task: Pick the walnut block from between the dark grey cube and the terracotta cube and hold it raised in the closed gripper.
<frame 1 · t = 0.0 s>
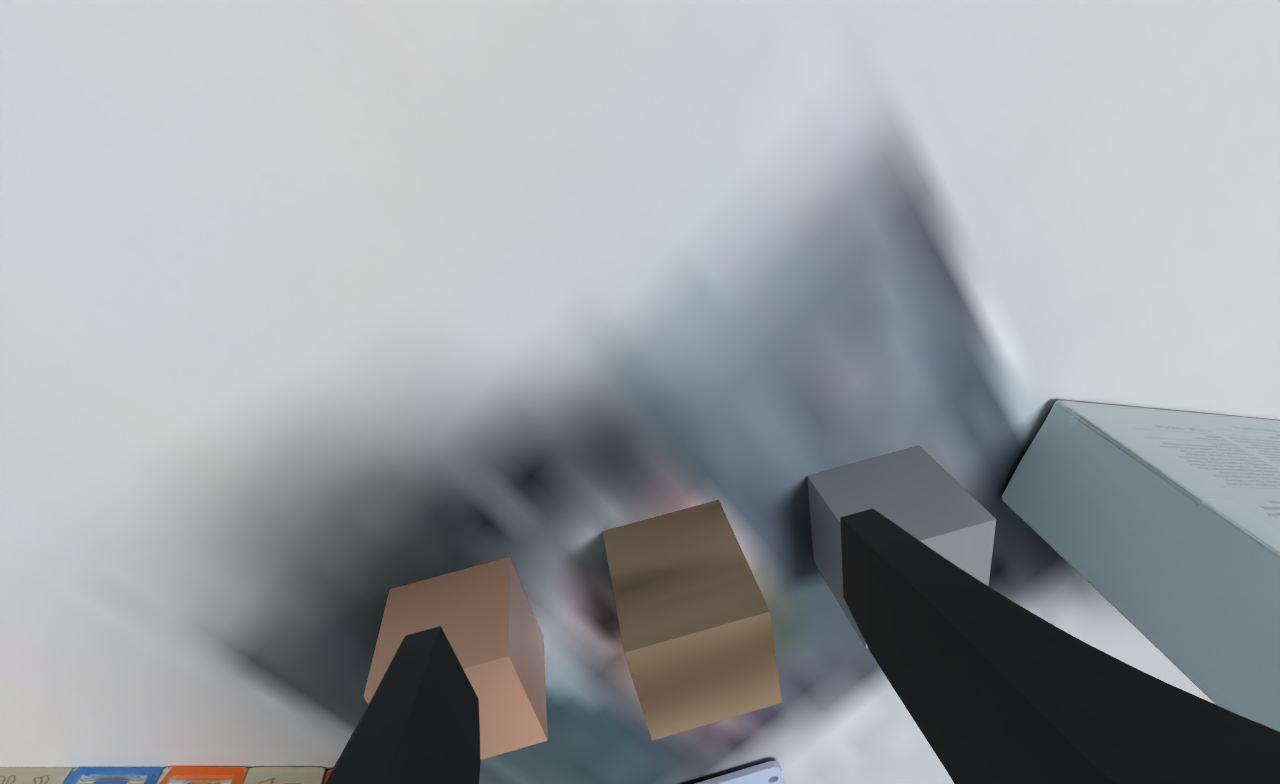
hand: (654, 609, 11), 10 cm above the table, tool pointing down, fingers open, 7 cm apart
terracotta cube: (470, 612, 24), on the table
grey cube: (863, 504, 25), on the table
walnut block: (670, 558, 24), on the table
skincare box: (1209, 465, 28), on the table
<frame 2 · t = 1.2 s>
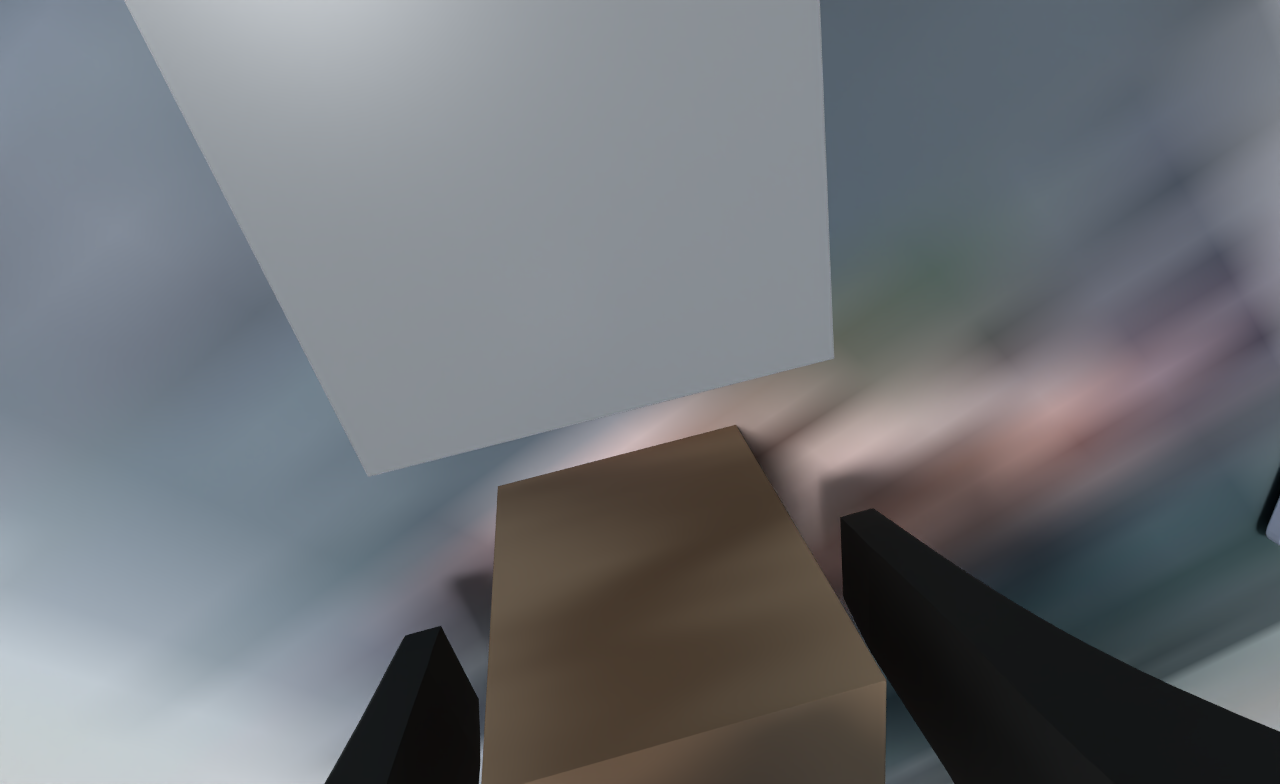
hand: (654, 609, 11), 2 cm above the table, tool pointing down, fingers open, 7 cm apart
grey cube: (533, 121, 9), on the table
walnut block: (640, 543, 13), on the table
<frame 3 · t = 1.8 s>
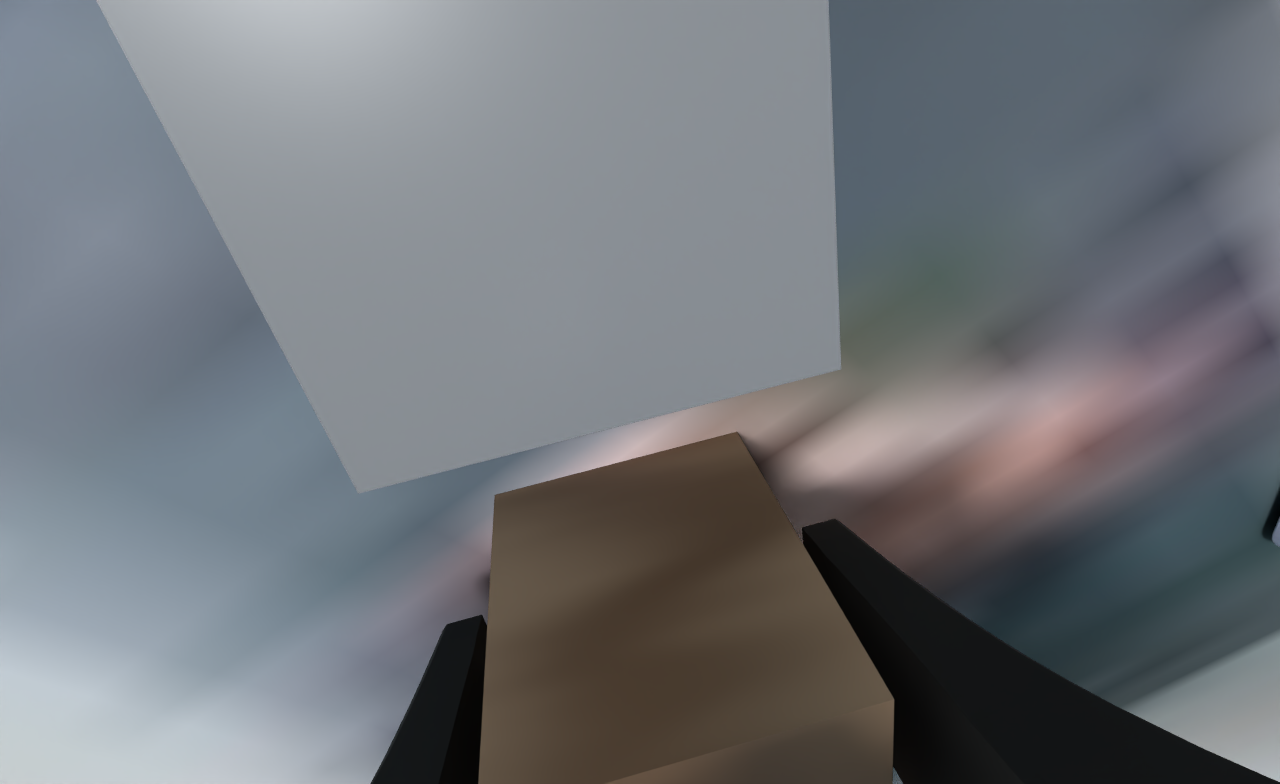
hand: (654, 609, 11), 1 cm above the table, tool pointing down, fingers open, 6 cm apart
grey cube: (529, 123, 8), on the table
walnut block: (640, 551, 12), on the table
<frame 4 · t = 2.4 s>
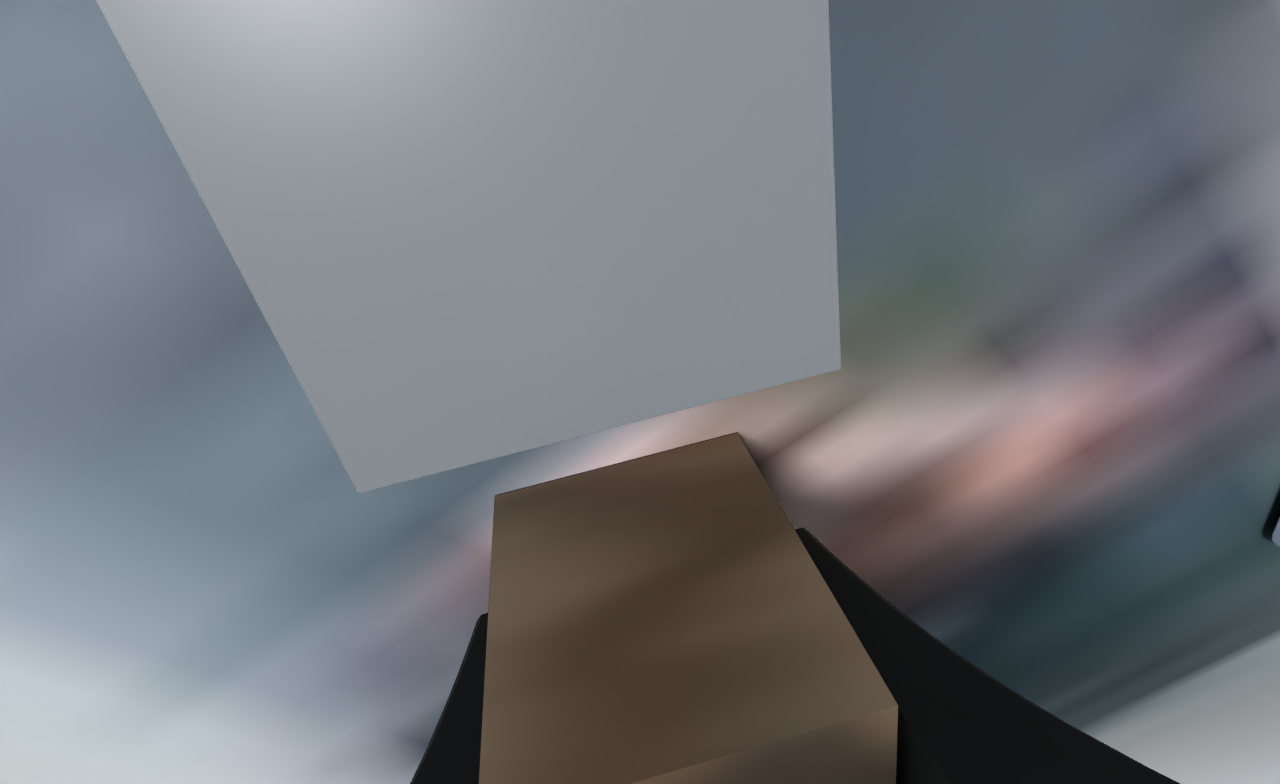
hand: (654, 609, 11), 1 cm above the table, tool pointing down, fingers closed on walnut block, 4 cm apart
grey cube: (529, 123, 8), on the table
walnut block: (640, 554, 12), on the table, touching gripper
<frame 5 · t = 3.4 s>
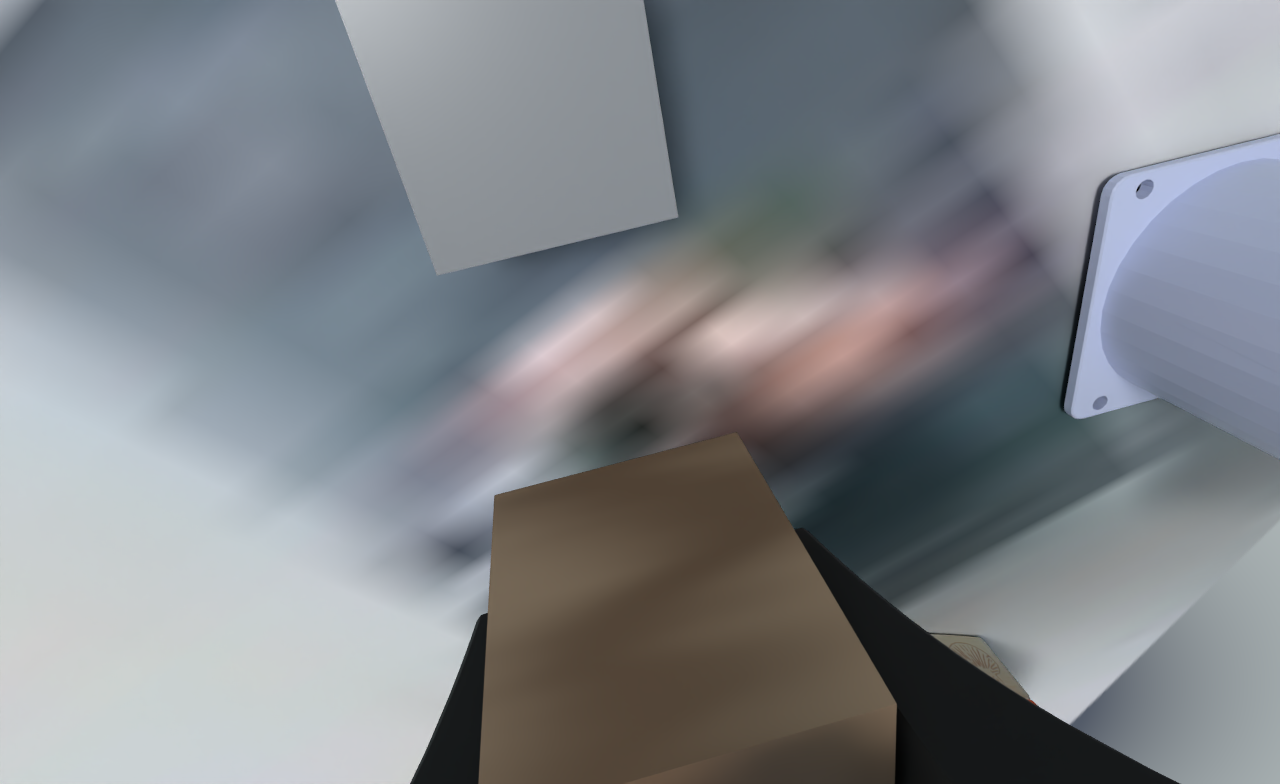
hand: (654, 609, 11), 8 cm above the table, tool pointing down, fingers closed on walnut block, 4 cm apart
stack of blocks: (819, 780, 30), on the table
grey cube: (521, 99, 14), on the table
walnut block: (640, 553, 12), point 6 cm above the table, touching gripper
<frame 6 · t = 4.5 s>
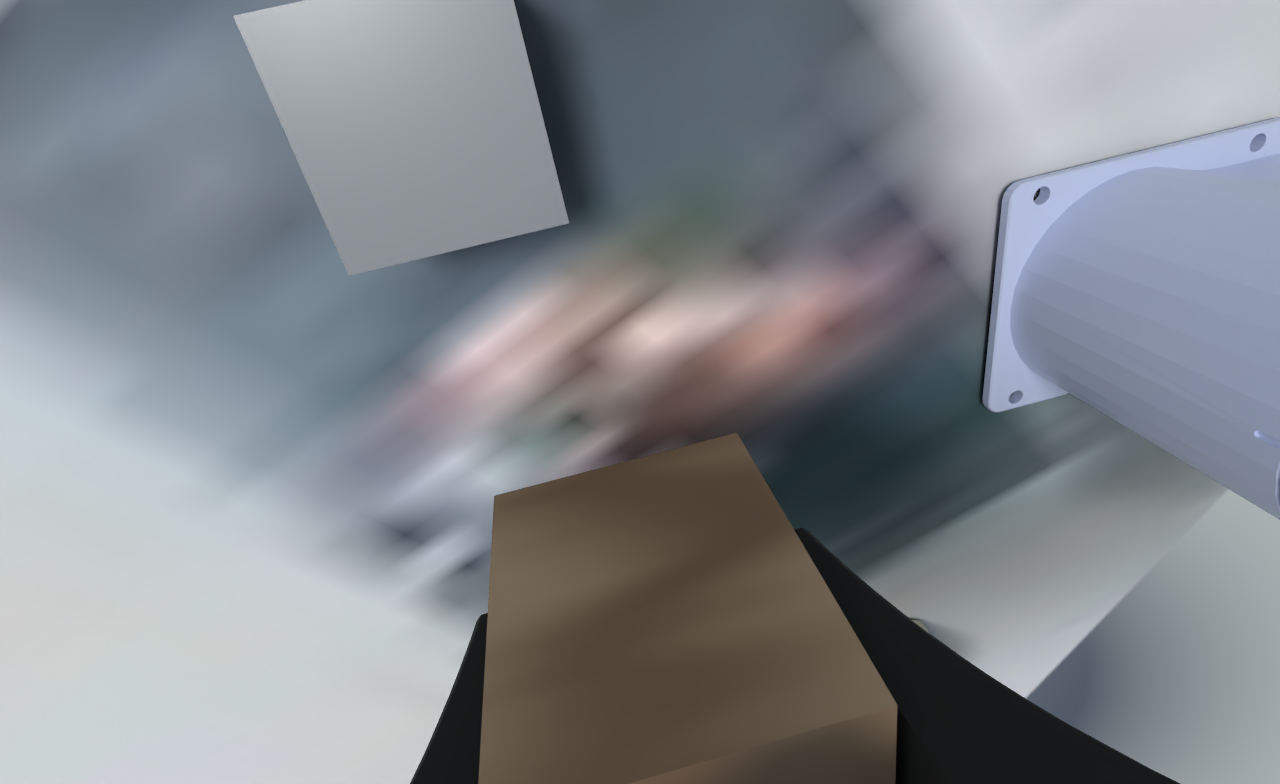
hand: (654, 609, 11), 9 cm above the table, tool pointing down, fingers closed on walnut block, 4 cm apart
grey cube: (444, 113, 15), on the table
walnut block: (640, 554, 12), point 8 cm above the table, touching gripper
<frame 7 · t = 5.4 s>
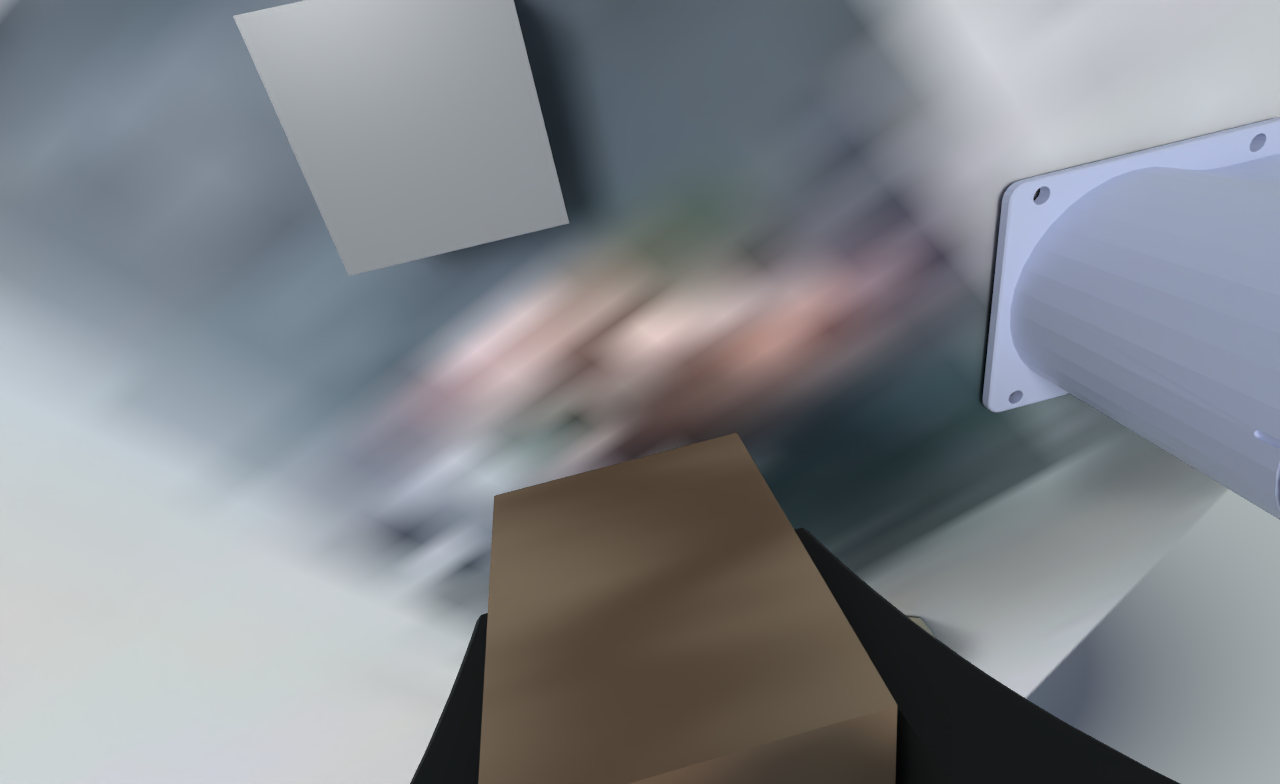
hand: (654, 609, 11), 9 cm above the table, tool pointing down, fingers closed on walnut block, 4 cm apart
grey cube: (444, 113, 15), on the table
walnut block: (640, 554, 12), point 8 cm above the table, touching gripper
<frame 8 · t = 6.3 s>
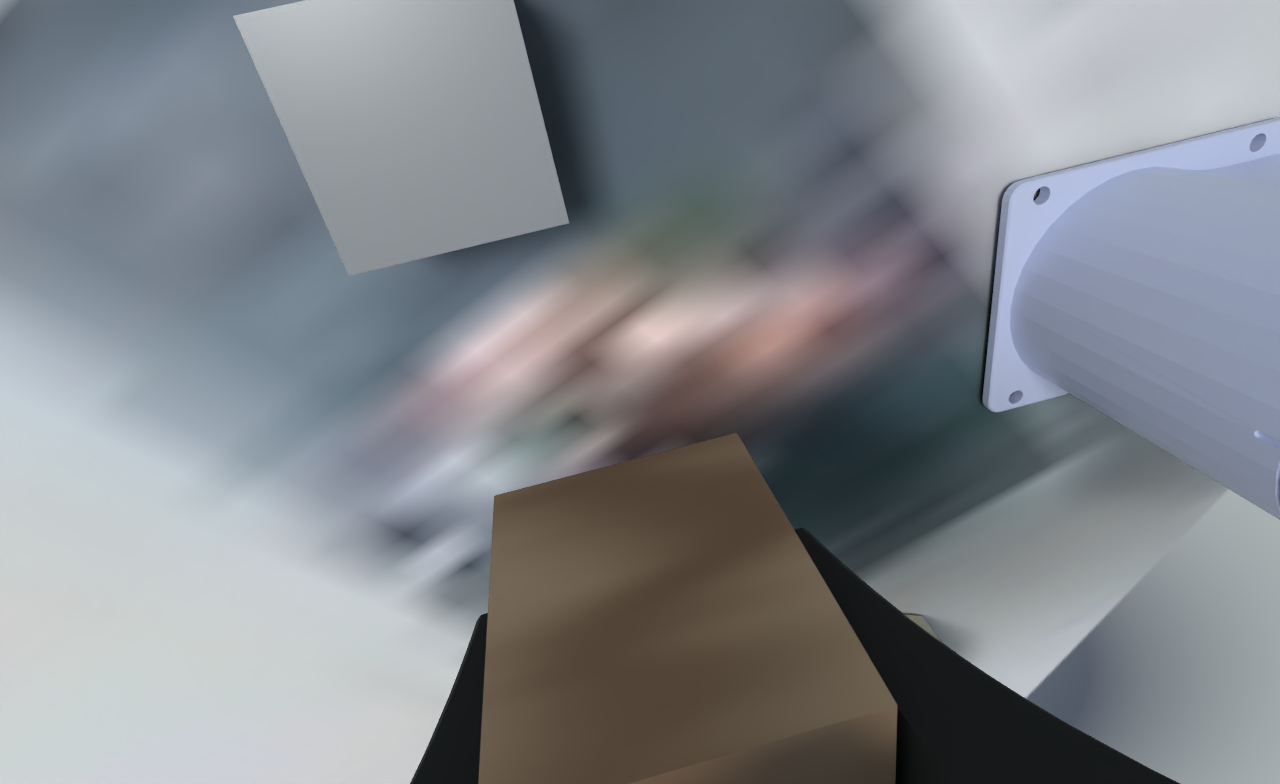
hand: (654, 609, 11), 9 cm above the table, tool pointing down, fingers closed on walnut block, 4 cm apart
grey cube: (444, 113, 15), on the table
walnut block: (640, 554, 12), point 8 cm above the table, touching gripper
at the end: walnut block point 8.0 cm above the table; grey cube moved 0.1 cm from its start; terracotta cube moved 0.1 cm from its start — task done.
